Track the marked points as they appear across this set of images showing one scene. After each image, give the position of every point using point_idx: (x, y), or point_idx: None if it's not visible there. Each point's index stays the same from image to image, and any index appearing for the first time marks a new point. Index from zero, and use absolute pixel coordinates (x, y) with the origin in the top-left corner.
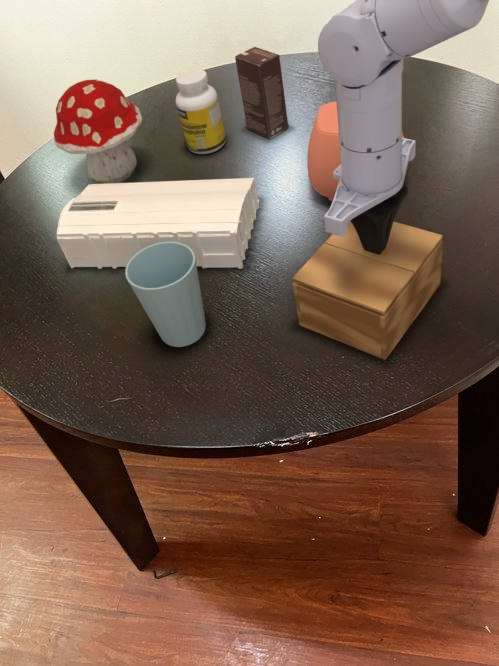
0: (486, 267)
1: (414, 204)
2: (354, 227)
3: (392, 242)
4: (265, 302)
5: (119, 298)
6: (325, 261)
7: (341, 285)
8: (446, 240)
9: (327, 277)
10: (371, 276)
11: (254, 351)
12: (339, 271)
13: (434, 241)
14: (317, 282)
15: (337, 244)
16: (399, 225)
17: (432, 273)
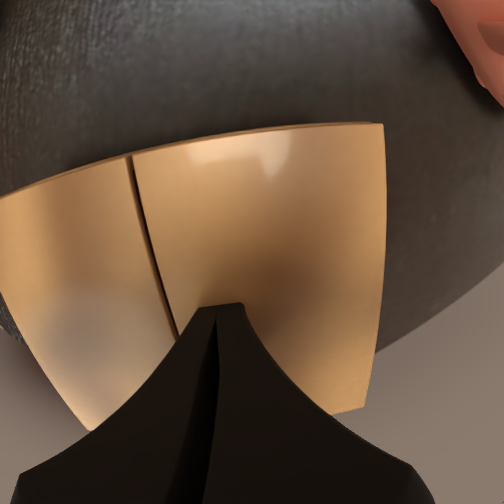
0: (388, 338)
1: (486, 148)
2: (144, 382)
3: (284, 353)
4: (69, 65)
5: None
6: (62, 241)
7: (49, 341)
8: (430, 254)
9: (32, 296)
10: (126, 383)
11: None
12: (68, 310)
13: (336, 410)
14: (7, 283)
15: (153, 210)
16: (369, 320)
17: None
